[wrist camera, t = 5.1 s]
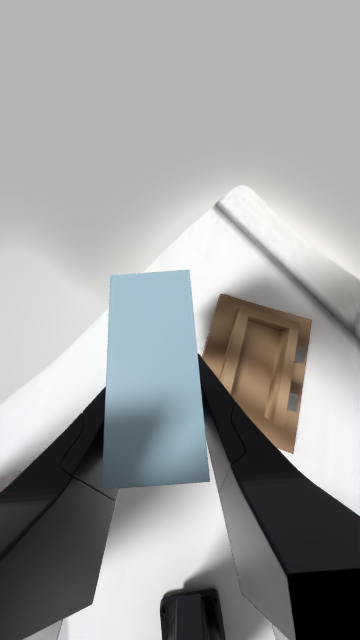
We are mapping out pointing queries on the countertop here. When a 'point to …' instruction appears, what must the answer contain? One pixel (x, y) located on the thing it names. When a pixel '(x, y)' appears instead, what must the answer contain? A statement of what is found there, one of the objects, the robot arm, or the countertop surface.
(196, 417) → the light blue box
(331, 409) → the countertop surface
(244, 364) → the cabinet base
